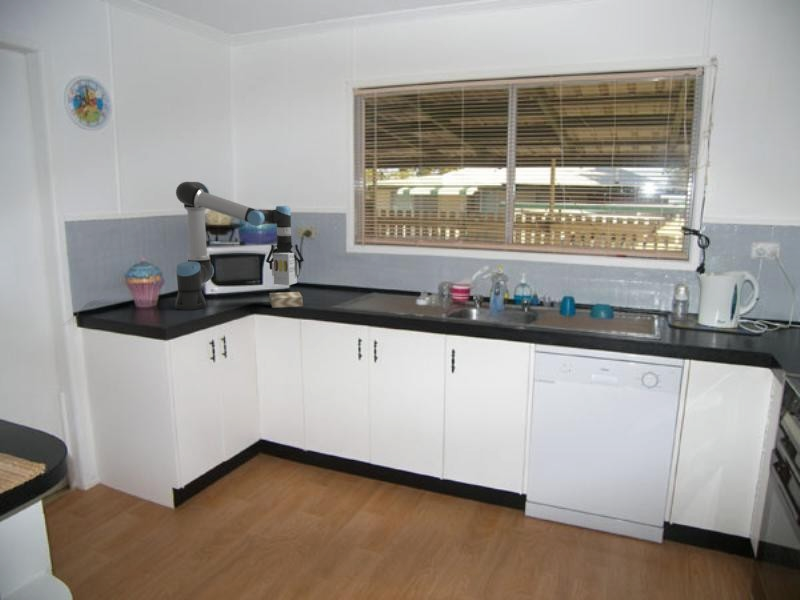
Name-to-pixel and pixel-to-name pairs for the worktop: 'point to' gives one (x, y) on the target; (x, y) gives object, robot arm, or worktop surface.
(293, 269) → the supplement box
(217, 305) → the worktop surface
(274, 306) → the block
